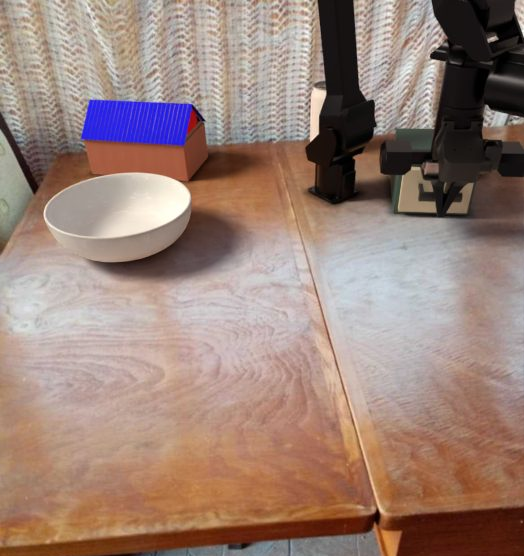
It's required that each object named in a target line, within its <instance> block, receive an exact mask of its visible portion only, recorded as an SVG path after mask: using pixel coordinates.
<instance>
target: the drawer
mask: <svg viewBox="0 0 524 556" xmlns="http://www.w3.org/2000/svg"><path fill="white" fill-rule="evenodd" d="M473 185H474V183H468V184H467V185H465V186H464V187H463V188H462V190H461V191H460V192H459V194H458V195H457V196H456V198H455V199H454V201H453V203H452V204H451V206H450V208H449V209H448V211H447V212H446V213H467V210H468V206H469V202H470V197H471V193H472V189H473ZM445 186H446V183H445V184H444V190H445ZM398 211H399V212H433V213H436V206H435V200H434V193H433V188H432V184H431V181H425V180H423V178H422V174H421V169H420V167H419V166H411V170H410V171H409V172H408V173H406V174H405V175H402V182H401V189H400V196H399V203H398Z"/></svg>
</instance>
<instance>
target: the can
mask: <svg viewBox="0 0 524 556" xmlns="http://www.w3.org/2000/svg"><path fill="white" fill-rule="evenodd" d="M310 94H311V95H310V123H309V124H310V126H309V129H310V130H309V143H310V142H311V141H312V140H313V139H314V138H315V137H316V136H317V135H318V134H319V114H320V111H321V109H322V106H323V103H324V100H325V97H326V84H325V80H320V81H317V82H314V83H313V88H312V91H311V93H310Z"/></svg>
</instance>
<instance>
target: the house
mask: <svg viewBox="0 0 524 556" xmlns="http://www.w3.org/2000/svg"><path fill="white" fill-rule="evenodd" d="M205 123H207V120H206V119H205V118H204V116H203V115H202V113H200V112H199V110H198V109H197V108H196V106H195V105H194V104H193V103H179V102H177V103H176V102H159V101H158V102H156V101H137V100H136V101H134V100H133V101H132V100H114V99H113V100H112V99H91V98H90V99H89V101H88V105H87V109H86V114H85V119H84V123H83V128H82V130H81V136H80V140H83V143H84V147H85V149H86V154H87V155H86V156H87V159H88V163H89V167H90V170H91V174H92V175H100V176H105V175H111V174H119V173H150V174H157V175H162V176H166V177H169V178H172V179H175V180H177V181H179V182H180V181H181V182H189V181H190V179H192V177H193V176H194V175H195V174H196V173H197V171H198V170H199V169H200V168H201V166H202V165H203V164H204V162H205V161H206V160H207V159H208V158H209V154H208V153H209V152H208V143H207V133H206V124H205Z"/></svg>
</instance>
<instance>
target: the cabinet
mask: <svg viewBox="0 0 524 556" xmlns="http://www.w3.org/2000/svg"><path fill="white" fill-rule="evenodd" d="M433 132H434V129H423V128H399V127H398V128H395V133H394V140H410V142H411V147H412V149H431V144H432V138H433ZM412 166H420V164H412ZM401 182H402V175H389V183H390V184H389V185H390V193H391V194H390V195H391V203H392V204H391V206H392V213H393V214H411V215H412V214H414V215H437V213H433V212H399V211H398V203H399V196H400V189H401ZM476 185H477V181H476V182H474V185H473V189H472V193H471V197H470V202H469V206H468V210H467V213H446V214H445V216H469V215H470V210H471V207H472V206H471V205H472V202H473V197H474V193H475V189H476Z"/></svg>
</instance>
